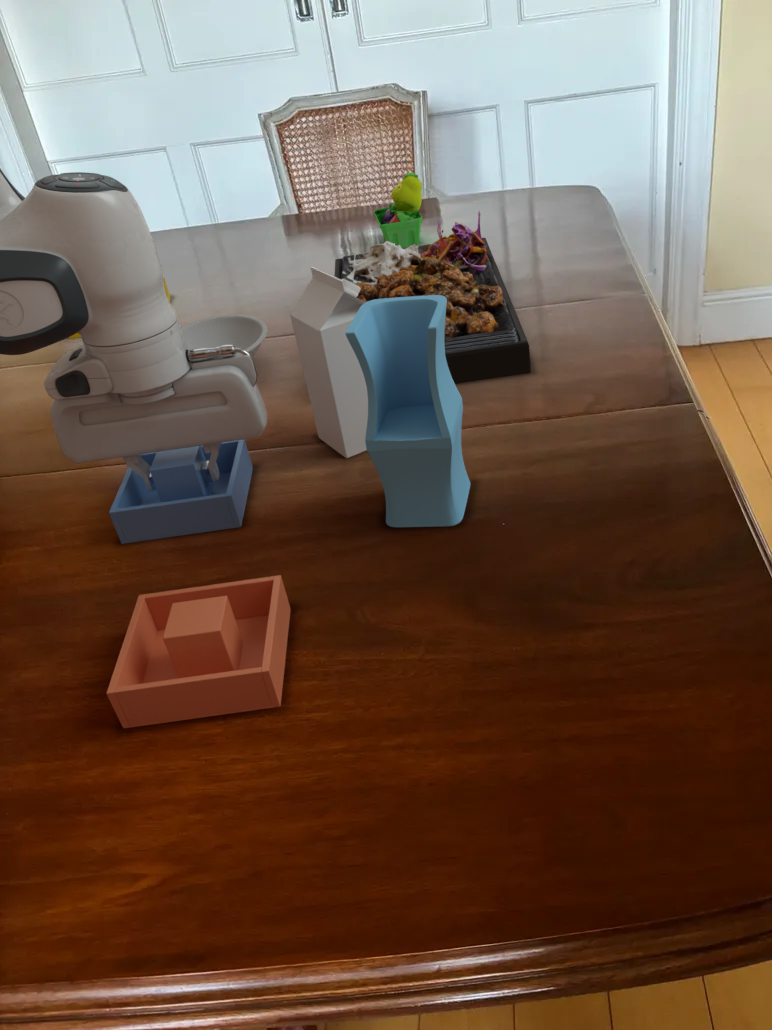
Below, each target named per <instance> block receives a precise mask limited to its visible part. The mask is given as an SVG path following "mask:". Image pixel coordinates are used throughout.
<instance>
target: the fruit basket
mask: <svg viewBox="0 0 772 1030" xmlns="http://www.w3.org/2000/svg"><path fill="white" fill-rule="evenodd" d="M422 190H423V184H422V181H421V180H420V178H419V174H416V173H414V172H407V173H406V174H405V175H404V176H403V179H402V181H401V182H400V183H398V184H397V185H396V186H395V187H394V188H393V189H392V190H391V193H390V198H391V199H392V202H393V203H392V204H391V203H390V204H389V205H388V206H387V207H383V208H378V209H374V210H373V215H374V217H375V219H376V222H377V224H378V227H379V229H380V230H381V233H382V235H383V238H384V240H385V241H389V242H390V243H393V244H394V243H395V246H397V245H400V246H401V248H407V247H409V246H412V245H413V244H415V246H420V240H421V239H420V238H421V237H420V236H421V229H422V228H421V227H422V223H423V216H422V214H421V212H420V211H419V210H420V209H421V205H422V203H423V193H422ZM385 241H384V242H385Z"/></svg>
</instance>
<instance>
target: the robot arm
mask: <svg viewBox="0 0 772 1030" xmlns="http://www.w3.org/2000/svg"><path fill="white" fill-rule="evenodd" d="M163 277H164V271H163V266H162V263H161V260H160V257H159V253H158V251H157V247H156V244H155V241H154V239H153V236H152V234H151V230H150V229H149V226H148V223H147V221H146V218H145V216H144V214H143V211H142V210H141V207H140V205H139V202H137V200H136V198H135V196H134V195H133V193H132V192H131V191H130V189H129V188H128V187H127V186H126V185H124V184H123V183H122V182H120V181H119V180H117V179H115V178H114V177H112V176H110V175H104V174H100V173H95V172H85V171H84V172H80V171H78V172H77V171H76V172H75V171H74V172H61V173H58V174H51V175H47V176H44V177H42V178H40V179H38V180H36V182H35V183H34V184H33V186H32V189H31V190H30V191H29V193H28V194H27V195H26V197H25V196H24V195H23V194H22V193H21V192H20V191H19V190H18V189H17V188H16V187H15V186H14V185H13V184H12V183H11V181H10V179H9V178H8V177H7V175H5V173H4V171H3V169H1V168H0V355H3V356H22V355H27V354H31V353H32V352H36V351H38V350H42V349H44V348H47V347H49V346H52V345H55V344H56V343H60V342H62V341H64V340H66V339H69V338H68V337H70V336H72V335H74V334H76V333H78V334H80V336H81V337H80V338H81V340H82V343H83V344H81V345H79V346H77V347H75V348H73V349H71V350H69V351H68V352H66V353H63V355H62V356H60V357H59V358H58V359H57V361H56V362H55V363H54V364H53V366H52V367H51V368H50V370H49V371H48V374H47V375H46V377H45V379H44V382H43V386H44V389H45V392H46V394H47V395H48V396H49V397H50V398H51V399H53V402H52V403H51V406H50V418H51V423H52V426H53V430H54V433H55V436H56V439H57V442H58V444H59V446H60V447H59V448H60V449H61V452H62V454H63V455H64V456H65V457H66V458H67V459H69V460H70V461H71V462H73V463H75V464H84V463H91V462H92V463H93V462H96V461H97V462H99V461H105V460H113V459H119V458H123V460H124V463H125V465H126V466H127V468H128V467H129V468H130V469H132V470H133V471H134V472H135V473H136V474H138V475H139V476H140V477H141V478H143V479H144V482H145V484H146V487H147V490H148V491H153V490H157V489H156V486H155V484H154V481H153V478H152V476H151V473H150V468H151V466H150V465H148V464H147V463H146V462H145V461H144V460H143V459H142V458H141V457H142V455H143V454H147V453H154V452H161V451H168V450H175V449H181V448H188V447H195V446H202V445H203V448H204V451H205V453H206V454H208V453H210V452H211V456H210V459H209V460H208V461H202V464H201V465H202V466H201V467H200V472H201V475H202V476H203V481H204V483H208V482H215V481H218V480H219V477H220V473H219V469H218V466H217V463H216V460H217V457H218V454H219V450H220V446H221V443H223V442H230V441H237V440H244V439H245V440H250V439H251V440H252V439H256V438H257V439H258V438H260V437H261V436H262V434H263V433H264V431H265V429H266V427H267V423H268V412H267V409H266V406H265V402H264V400H263V396H262V394H261V392H260V389H259V387H258V384H257V382H258V370H257V366H256V363H255V360H254V357H253V358H252V356H251V355H250V354H249V353H248V352H247V351H245V350H243V349H240V348H235V347H234V345H222V346H220V347H214V348H200V349H192V350H188V349H187V346H186V343H185V340H184V336H183V333H182V330H181V328H182V327H181V324H180V321H179V318H178V314H177V312H176V310H175V308H174V307H173V305H172V303H171V302H170V301H169V300H168V298H167V296H166V293H165V290H164V283H163ZM236 352H238V353H242V354H236Z"/></svg>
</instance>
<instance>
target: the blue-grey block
mask: <svg viewBox="0 0 772 1030" xmlns="http://www.w3.org/2000/svg"><path fill="white" fill-rule="evenodd" d="M202 461H206V460H205V457H204V453H203V450H202V447H201V446H195V447H188V448H181V449H175V450H168V451H161V452H157V453H156V455H155V458H154V460H153V463H152V466H151V468H150V473H151V476H152V478H153V481H154V484H155V486H156V489H157V492H158V494H159V497H160V500H161V502H168V501H175V500H182V499H189V498H197V497H204V496H211V492H212V488H213V485H214V484H213V482H208V483H204V481H203V476H202V475H201V472H200V467H201V466H202V465H201V464H202Z"/></svg>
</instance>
